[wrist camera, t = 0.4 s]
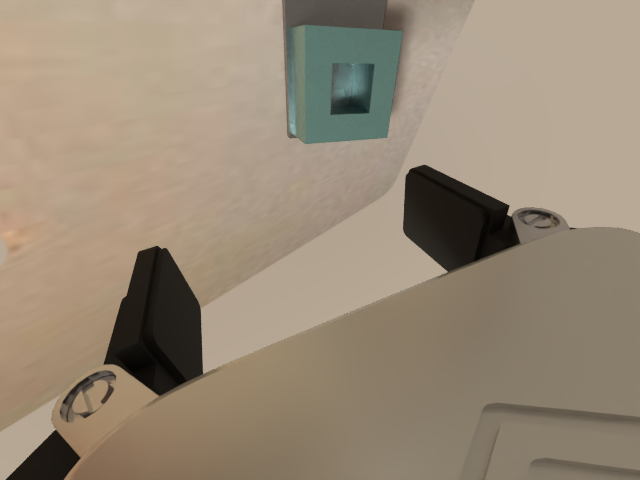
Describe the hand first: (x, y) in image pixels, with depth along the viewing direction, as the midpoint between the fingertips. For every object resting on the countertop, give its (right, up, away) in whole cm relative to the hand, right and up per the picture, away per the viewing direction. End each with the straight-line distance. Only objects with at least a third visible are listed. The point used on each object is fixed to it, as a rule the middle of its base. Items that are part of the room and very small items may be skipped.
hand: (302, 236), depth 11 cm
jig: (+2, +26, +21) cm, 34 cm away
